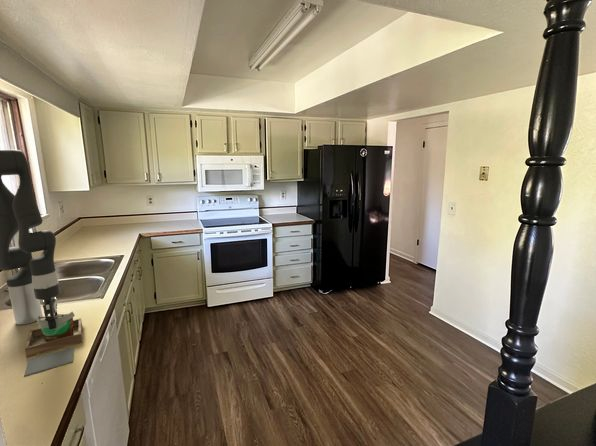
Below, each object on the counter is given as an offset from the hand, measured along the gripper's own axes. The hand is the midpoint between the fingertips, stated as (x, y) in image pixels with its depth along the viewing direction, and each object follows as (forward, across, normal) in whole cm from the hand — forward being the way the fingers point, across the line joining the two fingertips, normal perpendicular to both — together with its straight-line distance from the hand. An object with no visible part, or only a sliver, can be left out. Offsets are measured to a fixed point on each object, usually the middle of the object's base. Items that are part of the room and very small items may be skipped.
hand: (53, 323), depth 122 cm
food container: (+7, 0, 0) cm, 7 cm away
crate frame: (+7, 0, 0) cm, 7 cm away
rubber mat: (+8, +14, -1) cm, 16 cm away
